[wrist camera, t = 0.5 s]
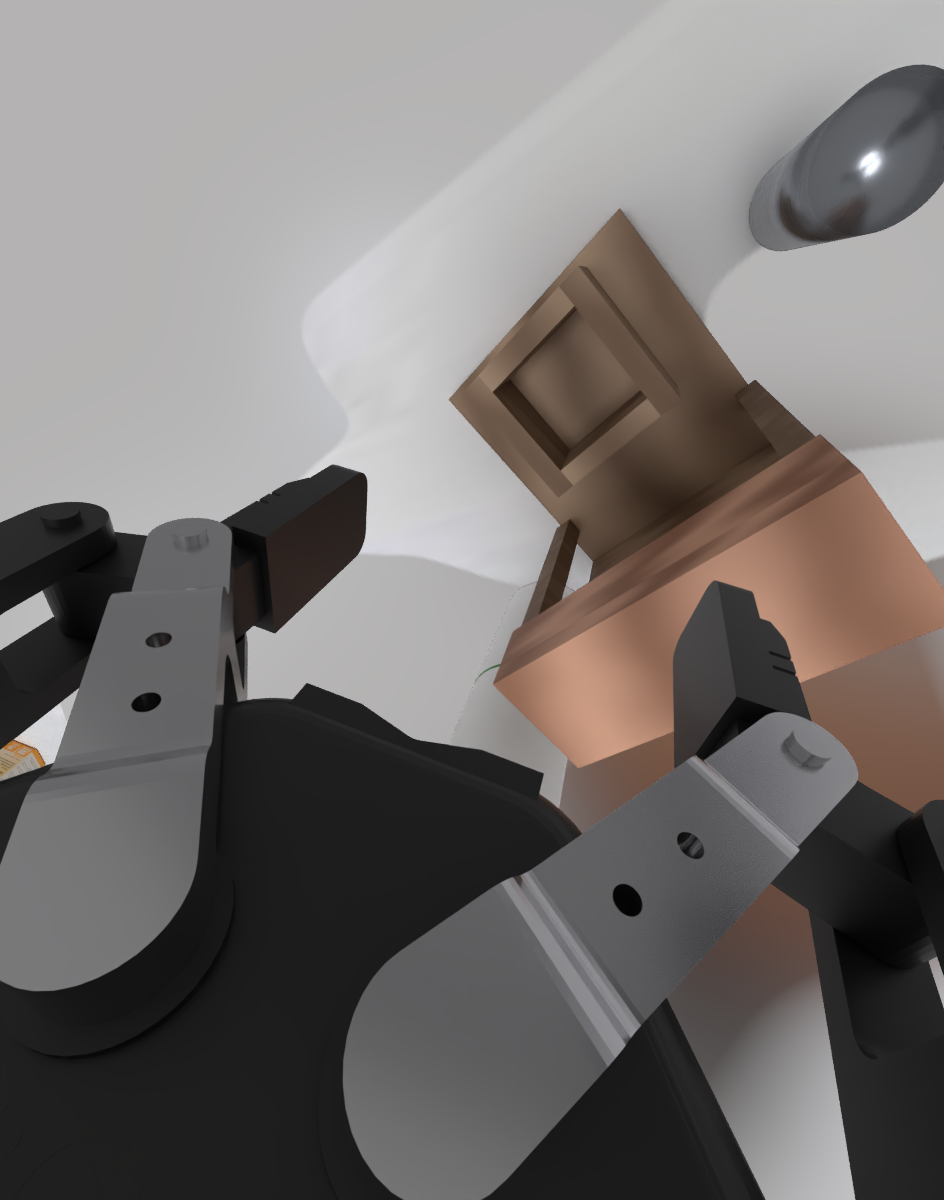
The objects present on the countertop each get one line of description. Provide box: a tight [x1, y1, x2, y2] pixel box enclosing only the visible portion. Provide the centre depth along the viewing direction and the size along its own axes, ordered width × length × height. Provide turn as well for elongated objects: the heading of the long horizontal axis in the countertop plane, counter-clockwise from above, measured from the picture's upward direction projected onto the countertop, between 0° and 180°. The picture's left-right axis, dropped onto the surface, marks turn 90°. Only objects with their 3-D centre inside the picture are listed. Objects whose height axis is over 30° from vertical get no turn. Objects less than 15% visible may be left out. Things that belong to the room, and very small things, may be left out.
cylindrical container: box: [448, 582, 574, 808], centre depth 33 cm, size 7×7×25 cm
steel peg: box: [749, 65, 944, 251], centre depth 20 cm, size 4×4×12 cm
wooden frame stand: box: [449, 209, 944, 768], centre depth 25 cm, size 15×18×19 cm
